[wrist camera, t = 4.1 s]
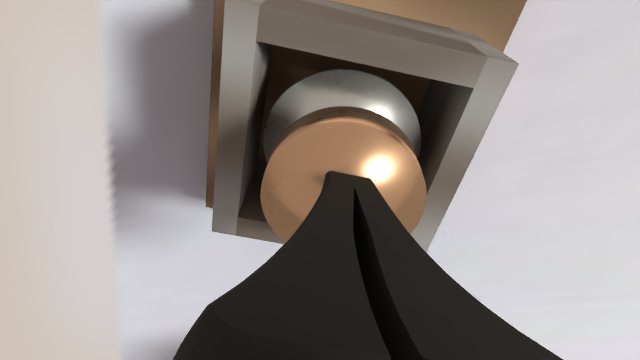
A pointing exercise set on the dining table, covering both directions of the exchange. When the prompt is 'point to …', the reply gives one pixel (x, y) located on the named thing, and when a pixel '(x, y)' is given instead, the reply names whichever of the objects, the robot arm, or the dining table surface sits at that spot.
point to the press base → (360, 53)
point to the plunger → (340, 145)
